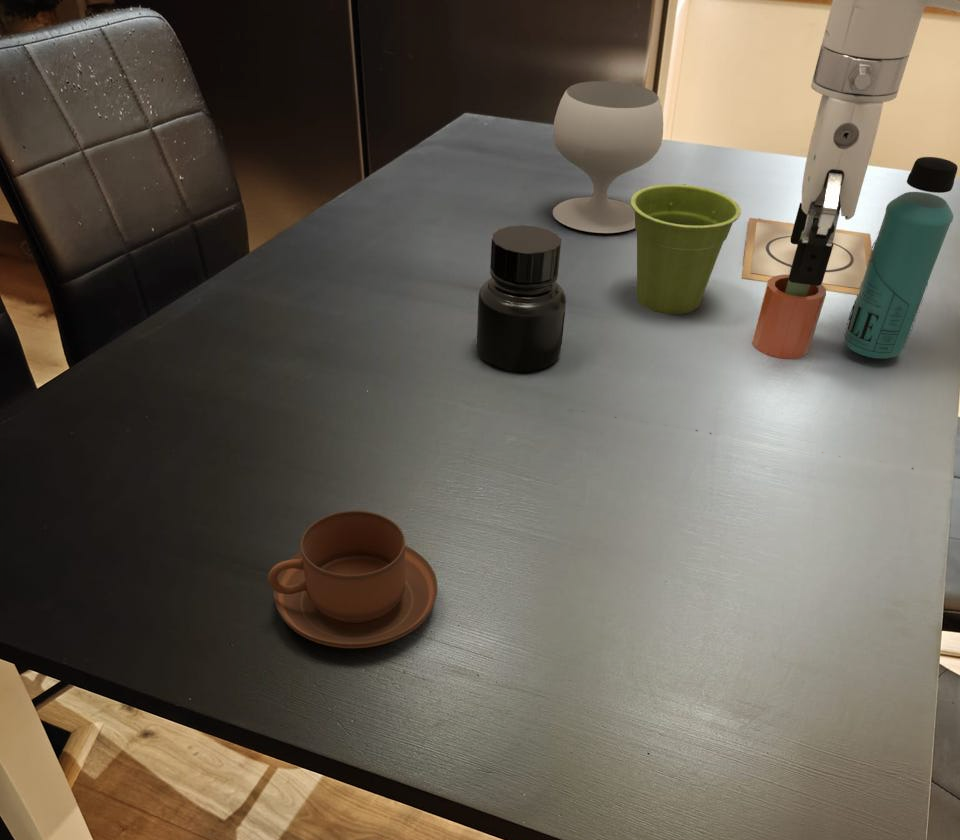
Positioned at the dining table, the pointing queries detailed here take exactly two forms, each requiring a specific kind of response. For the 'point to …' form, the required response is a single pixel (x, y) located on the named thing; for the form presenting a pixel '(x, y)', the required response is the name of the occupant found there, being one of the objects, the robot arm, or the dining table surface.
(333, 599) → the cup and saucer
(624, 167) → the chalice
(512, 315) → the ink bottle
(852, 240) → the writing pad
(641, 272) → the plant pot
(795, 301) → the pen cup
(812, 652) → the dining table surface
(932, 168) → the beverage bottle
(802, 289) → the marker
